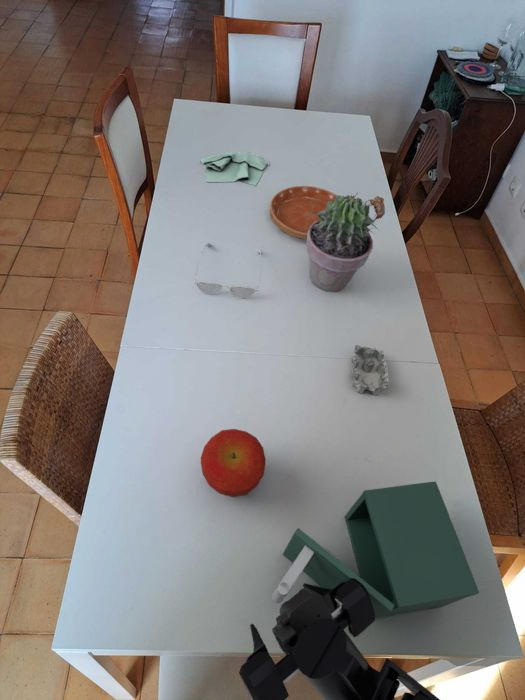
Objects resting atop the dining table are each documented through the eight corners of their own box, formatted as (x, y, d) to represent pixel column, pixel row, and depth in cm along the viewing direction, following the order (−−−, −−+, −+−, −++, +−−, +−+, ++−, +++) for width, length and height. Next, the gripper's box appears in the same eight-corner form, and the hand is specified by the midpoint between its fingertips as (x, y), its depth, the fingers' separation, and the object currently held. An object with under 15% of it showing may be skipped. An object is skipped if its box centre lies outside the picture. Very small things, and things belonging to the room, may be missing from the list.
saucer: (254, 224, 127) (255, 213, 124) (291, 186, 140) (293, 175, 137) (327, 257, 122) (330, 246, 119) (359, 214, 135) (362, 204, 132)
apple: (255, 516, 79) (261, 491, 69) (194, 503, 79) (192, 477, 70) (265, 457, 86) (273, 427, 76) (209, 446, 86) (210, 415, 76)
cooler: (371, 619, 71) (398, 607, 61) (344, 516, 80) (364, 490, 70) (441, 607, 73) (479, 592, 63) (407, 507, 82) (435, 481, 72)
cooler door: (341, 668, 67) (365, 664, 57) (255, 593, 72) (263, 576, 61) (368, 617, 71) (395, 605, 61) (285, 549, 76) (298, 527, 66)
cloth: (275, 162, 147) (276, 155, 145) (246, 196, 134) (247, 189, 133) (219, 143, 151) (219, 136, 149) (186, 175, 138) (185, 167, 136)
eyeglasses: (193, 292, 109) (193, 280, 106) (205, 244, 120) (205, 231, 117) (257, 300, 110) (258, 289, 106) (263, 251, 120) (264, 239, 117)
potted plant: (279, 258, 119) (293, 172, 100) (347, 251, 124) (374, 167, 104) (299, 308, 109) (319, 223, 89) (372, 299, 114) (408, 216, 94)
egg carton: (383, 398, 96) (389, 388, 93) (348, 391, 96) (353, 381, 93) (383, 358, 103) (389, 347, 99) (350, 352, 103) (355, 341, 100)
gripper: (387, 576, 53) (312, 523, 67) (254, 688, 45) (201, 601, 59) (411, 649, 55) (335, 583, 69) (289, 766, 48) (230, 666, 62)
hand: (279, 605), depth 65 cm, fingers open, 9 cm apart
